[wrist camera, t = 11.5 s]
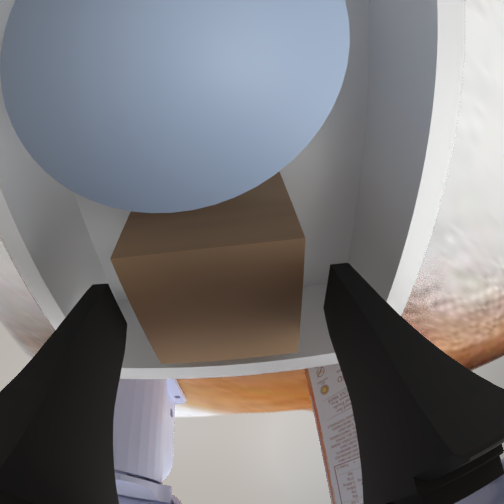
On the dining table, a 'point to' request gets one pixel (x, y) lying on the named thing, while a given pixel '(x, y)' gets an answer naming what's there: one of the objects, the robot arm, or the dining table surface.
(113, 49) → the blue cylinder
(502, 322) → the dining table surface
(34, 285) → the tote
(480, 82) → the dining table surface
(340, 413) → the cracker box
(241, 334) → the walnut cube
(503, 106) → the dining table surface
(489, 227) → the dining table surface
